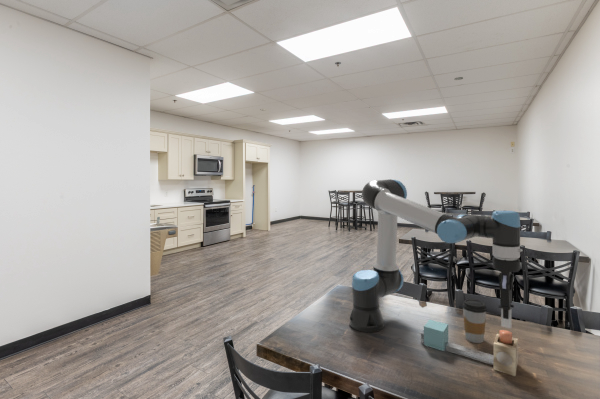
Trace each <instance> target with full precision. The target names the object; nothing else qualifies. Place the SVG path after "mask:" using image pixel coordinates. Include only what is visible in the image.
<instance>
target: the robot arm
mask: <svg viewBox="0 0 600 399" xmlns="http://www.w3.org/2000/svg"><path fill="white" fill-rule="evenodd" d="M407 190H408V189H407V187H406V185H405V184H404V183H402V182H401V181H400V180H396V179H379V180H378V179H376V180H371V181H369V182H367V183H365V185H364V187H363V189H362V191H361V197H362V200H363V202H364V204H366V205H367V206H368V207H370V208H372V209H374V210H375V211H376V212H377V240H376V241H377V244H376V245H377V246H376V262H375V263H373V264H372V265H373V266H372V267H373V268H372V269H365V270H364V269H361V270H358V271H357V272H355V273H354V274H353V275H352V278H351V279H352V280H351V281H352V282H351V288H352V289H351V290H352V309H351V312H350V316H349V318H348V319H349V320H348V321H349V326H350V327H351V328H352V329H353V330H356V331H357V332H362V333H376V332H379V331H381V330H382V329H384V328H385V320H384V316H383V314H382V312H381V309H380V299H381V298H384V297H386V296H389V295H392V294H395V293H397V292H398V291H400V290H401V288H402V287H403V285H404V275H403V273H402V271H401V270H400V266H399V265H398V264H397V242H398V241H397V240H398V218H399V219H402V220H405V221H407V222H409V223H412V224H414V225H415V226H419V227H421V228H423V229H425V230H427V231H430V232H432V233H434V234H436V235H437V236H438V237H439V239H440V240H441V241H442V242H444V243H447V244H457V243H460V242H462V241H466V240H469V239H472V238H477V237H478V238H487V239H491V240H492V256H493V257H492V268H493V269H494V270H497V271H500V272H499V274H498V286H499V297H500V298H499V299H500V301H499V302H500V304H499V305H498V308H499V309H500V327H502V328H506V329H510V330H511V329H512V308H515V305H514V304H512V303H513V301H512V300H513V299H512V298H513V286H514V280H515V275H514V274H513V273H516V272H517V273H518V272H520V270H521V260H520V257H521V252H523V249H522V248H521V217H520V213H519V212H517V211H514V210H494V211H492V215H476V214H470V213H469V214H468V213H467V214H458V215H457V216H456V217H454V216H451V215H449V214H446V213H444V212H440V211H439V210H437V209H433V208H430V207H428V206H426V205H423V204H421V203H417V202H416V201H413V200H410V199H407V197H408V192H407Z"/></svg>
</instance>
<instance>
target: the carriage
mask: <svg viewBox="0 0 600 399" xmlns="http://www.w3.org/2000/svg"><path fill="white" fill-rule="evenodd" d="M423 330H424V344H423V345H424V346H426V347H430V348H433V349H435V350H438V351H443V352H445V344H446V342H449V323H445V322H441V321H437V320H433V319H428V320H427V322H426V323H425V324H424V325H423Z"/></svg>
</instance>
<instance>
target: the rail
mask: <svg viewBox="0 0 600 399" xmlns="http://www.w3.org/2000/svg"><path fill="white" fill-rule="evenodd" d="M420 340H421V341H420V343H421V344H422V345H424V329H423V330H422V331H421V333H420ZM445 351H446V352H449V353H452V354H455V355H458V356H461V357H466V358H468V359H471V360H475V361H478V362H481V363H485V364H487V365H492V366H493V359H494V354H491V353H488V352H485V351H480V350H477V349H473V348H470V347H466V346H463V345H459V344H456V343H453V342H449V341H448V342H446V344H445V350H444V352H445Z"/></svg>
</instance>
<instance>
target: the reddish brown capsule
mask: <svg viewBox="0 0 600 399" xmlns="http://www.w3.org/2000/svg"><path fill="white" fill-rule="evenodd" d="M498 332H499V333H498V334H499V340H500V341H501V342H502V343H505V344H512V338H513V332H511V331H509V330H506V329H500V330H498Z"/></svg>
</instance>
